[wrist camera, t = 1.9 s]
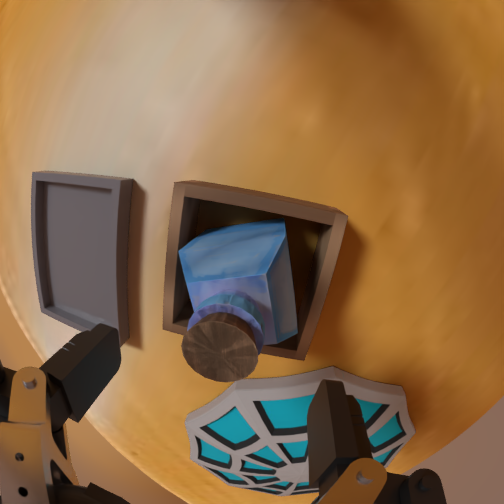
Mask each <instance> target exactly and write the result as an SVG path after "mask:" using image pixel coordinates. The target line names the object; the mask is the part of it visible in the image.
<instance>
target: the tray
mask: <svg viewBox="0 0 504 504" xmlns="http://www.w3.org/2000/svg"><path fill="white" fill-rule="evenodd" d="M132 185H133V179H130V178H122V177H113V176H103V175H93V174H82V173H70V172H57V171H38V172H32V189H31V230H32V248H33V259H34V269H35V277H36V284H37V291H38V297H39V303H40V308H41V312H42V313H44V314H46V315H48V316H50V317H52V318H54V319H56V320H58V321H60V322H62V323H64V324H66V325H68V326H71V327H73V328H75V329H77V330H79V331H82V332H84V331H86V330H88V331H91V330H92V329H93V328H94V327H95V326H96V325H97V324H99V323H103V324H106V325H108V326H111V327H114V328H116V329H117V330H118V332H119V341H120V348H121V346H122V345H123V344H124V343H125V342H126V341H127V339H128V338H129V324H128V298H127V259H128V233H129V217H130V205H131V194H132Z"/></svg>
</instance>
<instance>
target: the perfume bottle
mask: <svg viewBox="0 0 504 504" xmlns="http://www.w3.org/2000/svg"><path fill="white" fill-rule="evenodd" d="M178 252H179V256H180V260H181V264H182V268H183V272H184V276H185V280H186V284H187V288H188V292H189V295H190V299H191V303H192V306H193V310H194V313H193V315H192V317H191V318H190V320H189V324H188V328H187V333H186V334H185V335H184V337H183V341H182V352H183V356H184V358H185V359H186V361H187V363H188V364H189V365H190V366H191V368H192V369H193V370H194V371H195V372H197V373H199V374H200V375H202V376H204V377H205V378H208V379H211V380H214V381H219V382H233V381H239V380H241V379H243V378H245V377H247V376H248V375H249V374H251V373H252V372H253V371H254V369H255V367H256V365H257V363H258V355H259V354H260V352H261V350H262V347H263V345H269V344H277V343H279V342H281V341H284V340H286V339H288V338H290V337H291V336H293V335H295V334H297V333H298V328H297V315H296V304H295V292H294V284H293V276H292V269H291V261H290V254H289V246H288V239H287V232H286V225H285V219H284V218H277V219H271V220H264V221H257V222H250V223H244V224H237V225H231V226H224V227H218V228H212V229H206V230H205V231H203V232H202V233H201V234H199V235H198V236H197V237H196V238H194V239H193V240H192V241H191V242H189V243H188V244H187V245H185V246H184V247H183V248H182V249H180V250H179V251H178Z"/></svg>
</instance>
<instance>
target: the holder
mask: <svg viewBox="0 0 504 504" xmlns="http://www.w3.org/2000/svg"><path fill="white" fill-rule="evenodd" d="M200 199H203V200H209V201H214V202H220V203H226V204H231V205H237V206H242V207H247V208H252V209H257V210H263V211H268V212H273V213H277V214H282V215H287V216H292V217H297V218H301V219H306V220H310V221H315V222H319V223H322V225H321V229H320V233H319V238H318V242H317V246H316V250H315V254H314V258H313V262H312V265H311V269H310V273H309V277H308V280H307V284H306V288H305V291H304V295H303V299H302V302H301V306H300V309H299V312H298V316H297V328H298V333H297V334H295V335H293V336H291V337H290V338H288V339H286V340H284V341H281V342H279V343H277V344H269V345H263V347H262V350H261V352H260V353H262V354H268V355H273V356H279V357H284V358H290V359H297V360H303V361H304V360H305V357H306V354H307V352H308V349H309V346H310V343H311V340H312V338H313V335H314V332H315V329H316V326H317V323H318V320H319V317H320V314H321V311H322V308H323V305H324V302H325V298H326V295H327V292H328V289H329V285H330V282H331V279H332V275H333V272H334V268H335V265H336V261H337V258H338V254H339V250H340V247H341V243H342V239H343V235H344V231H345V227H346V223H347V219H348V216H347V215H346V214H344V213H343V212H341V211H340V210H338V209H337V208H334V207H330V206H326V205H322V204H317V203H313V202H308V201H304V200H299V199H294V198H290V197H285V196H280V195H275V194H270V193H265V192H260V191H255V190H249V189H244V188H238V187H232V186H227V185H221V184H215V183H208V182H202V181H195V180H191V181H181V182H174V188H173V196H172V204H171V212H170V221H169V231H168V241H167V252H166V265H165V281H164V300H163V330H167V331H170V332H174V333H177V334H181V335H185V334H186V333H187V328H188V324H189V320H190V318H191V317H192V315H193V313H194V310H193V306H192V303H191V301H188V299H189V292H188V288H187V284H186V280H185V276H184V272H183V268H182V264H181V260H180V256H179V252H178V251H179V250H180V249H182V248H183V247H184V246H185V245H187V244H188V243H189V242H191V241H192V240H193V239H194V238H195V235H196V227H197V220H198V213H199V206H200Z"/></svg>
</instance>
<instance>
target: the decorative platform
mask: <svg viewBox="0 0 504 504" xmlns="http://www.w3.org/2000/svg"><path fill="white" fill-rule="evenodd" d="M323 379H327V380H336V381H342V382H343V384H344V388H345V392H346V395H353V396H354V397H355V399H356V400H357V401H358V403H359V404H360V407H361V410H362V414H363V416H362V417H363V418H364V422H365V425H364V426H366V430H367V434H368V439H369V443H370V447H371V452H372V456H373V459H374V460H376V461H378V462H380V463H381V464H382V465H383V466H384V468H386V467H388V465H389V464H390V463H391V461H392V460H393V459H394V457H395V456H396V455H397V453H398V452H399V451H400V450H401V449H402V447H403V446H404V445H405V444H406V443H407V442H408V441H409V440H410V439H411V437H412V436H413V435H414V434H415V433H416V430H415V428H414V425H413V423H412V421H411V419H410V417H409V414H408V409H407V402H406V395H405V392H404V390H403V388H402V386H398V385H391V384H385V383H379V382H375V381H371V380H367V379H364V378H361V377H358V376H355V375H353V374H350V373H348V372H345V371H343V370H341V369H338V368H336V367H334V366H331V367H327V368H324V369H320V370H316V371H311V372H307V373H302V374H297V375H291V376H284V377H275V378H259V379H241V380H239V381H235V382H234V383H233V384H232V385H231V386H230V387H229V388H228V389H227V390H225V391H224V392H223V393H222V394H221V395H220V396H218V397H217V398H216V399H214V400H213V401H211V402H210V403H208V404H206V405H205V406H203V407H201V408H199V409H197V410H195V411H193V412H191V413H189V414H188V415H187V418H186V420H185V426H186V429H187V433H188V436H189V440H190V449H191V452H190V459H191V460H192V461H194V462H195V463H197V464H198V465H200V466H202V467H203V468H205V469H206V470H208V471H209V472H211V473H212V474H214V475H215V476H217V477H218V478H219V479H221V480H222V481H223V482H225V483H226V484H227V485H229V486H234V487H239V488H244V489H249V490H254V491H258V492H263V493H268V494H273V495H278V496H289V495H298V494H308V493H317V492H319V488H309V465H308V436H307V413H308V408H309V405H310V403H311V401H312V399H313V397H314V395H315V393H316V391H317V389H318V387H319V384H320V382H321V381H322V380H323Z"/></svg>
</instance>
